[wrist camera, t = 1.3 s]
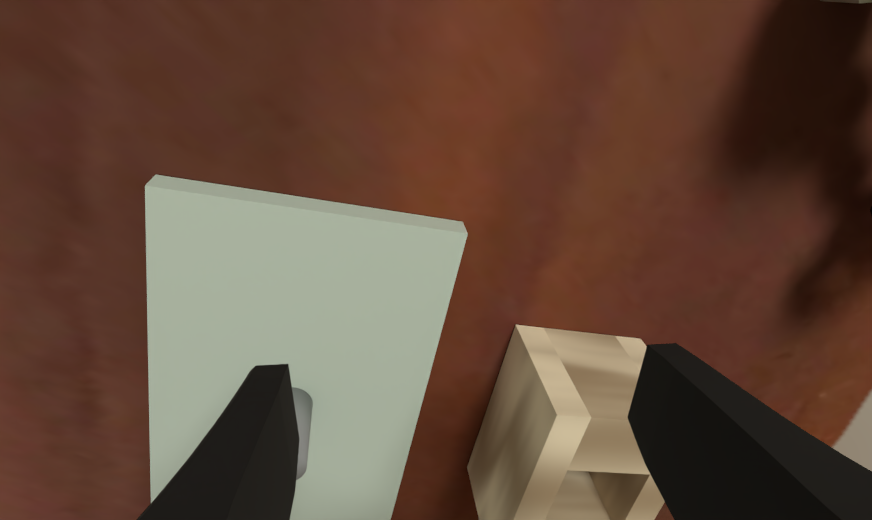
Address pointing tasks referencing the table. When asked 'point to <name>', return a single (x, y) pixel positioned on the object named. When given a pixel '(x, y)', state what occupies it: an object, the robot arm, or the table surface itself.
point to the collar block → (563, 432)
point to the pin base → (295, 329)
